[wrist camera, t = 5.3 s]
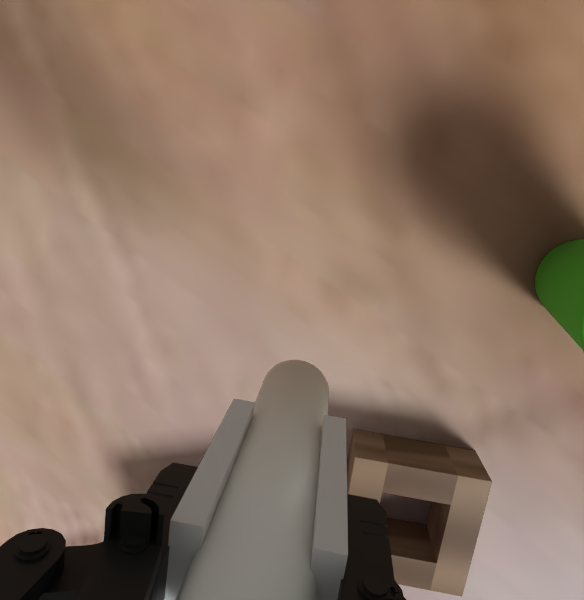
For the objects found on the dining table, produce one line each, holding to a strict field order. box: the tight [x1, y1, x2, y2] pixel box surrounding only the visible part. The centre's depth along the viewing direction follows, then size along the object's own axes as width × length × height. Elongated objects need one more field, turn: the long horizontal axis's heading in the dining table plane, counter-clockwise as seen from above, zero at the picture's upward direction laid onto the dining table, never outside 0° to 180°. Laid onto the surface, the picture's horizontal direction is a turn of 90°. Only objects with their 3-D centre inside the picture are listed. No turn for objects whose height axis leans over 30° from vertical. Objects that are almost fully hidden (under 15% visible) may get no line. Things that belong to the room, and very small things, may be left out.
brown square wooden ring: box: [347, 429, 492, 596], centre depth 35 cm, size 9×9×4 cm
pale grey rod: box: [176, 360, 329, 600], centre depth 14 cm, size 3×3×15 cm
